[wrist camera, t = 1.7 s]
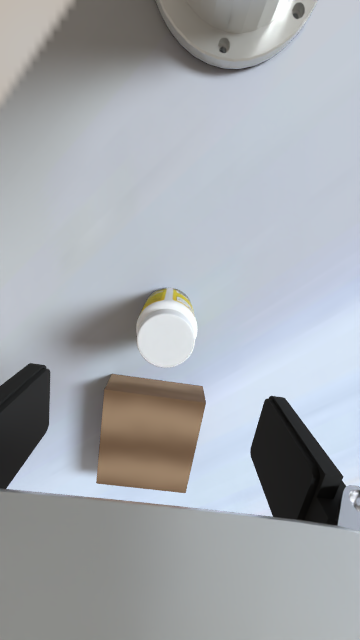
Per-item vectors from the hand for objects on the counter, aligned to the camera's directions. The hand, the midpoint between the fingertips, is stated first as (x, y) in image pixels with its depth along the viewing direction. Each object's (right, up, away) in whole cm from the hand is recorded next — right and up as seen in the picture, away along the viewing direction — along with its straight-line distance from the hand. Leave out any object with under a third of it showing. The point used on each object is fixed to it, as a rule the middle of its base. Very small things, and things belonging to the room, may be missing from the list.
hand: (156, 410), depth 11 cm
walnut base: (-2, -8, +18) cm, 20 cm away
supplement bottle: (0, +5, +14) cm, 15 cm away
